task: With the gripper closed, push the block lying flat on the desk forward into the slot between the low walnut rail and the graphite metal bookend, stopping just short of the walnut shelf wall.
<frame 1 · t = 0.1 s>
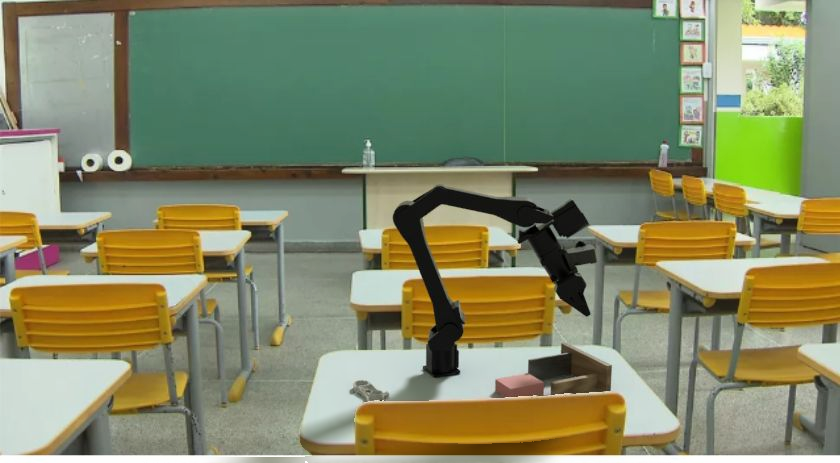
hand: (585, 309, 165), 15 cm above the table, tool tilted 35°, fingers open, 9 cm apart
bracket: (370, 402, 154), on the table
block: (519, 394, 157), on the table
shelf: (563, 384, 162), on the table
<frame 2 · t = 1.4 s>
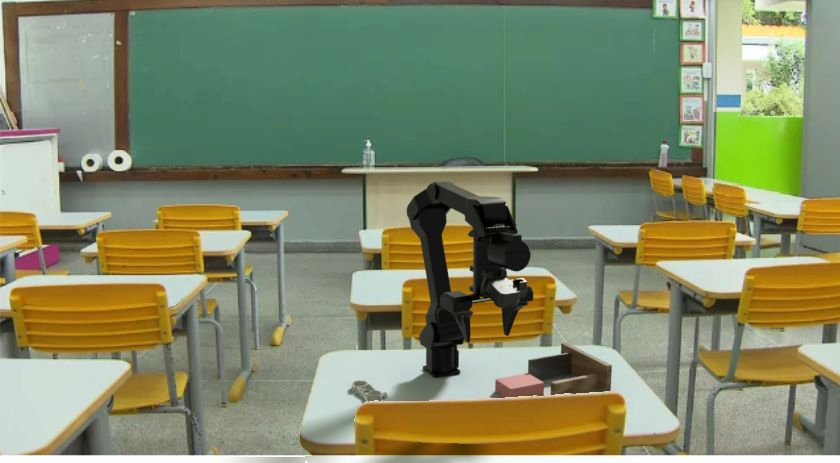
hand: (487, 338, 151), 13 cm above the table, tool pointing down, fingers open, 9 cm apart
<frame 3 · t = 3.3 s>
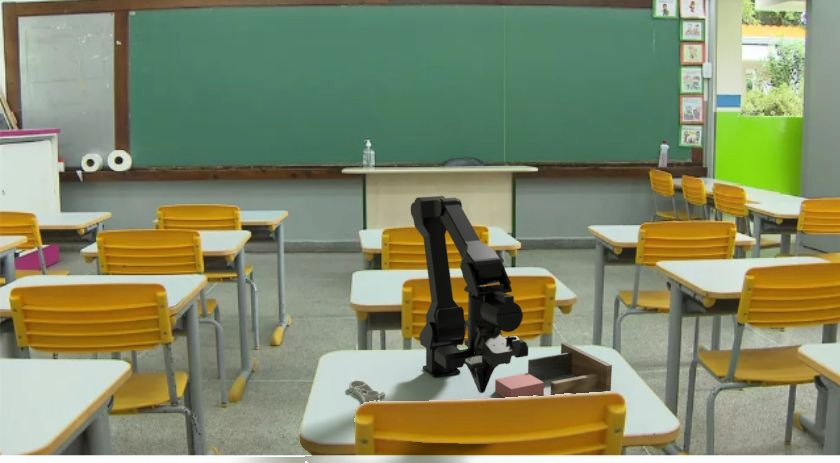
hand: (481, 392, 153), 2 cm above the table, tool pointing down, fingers closed
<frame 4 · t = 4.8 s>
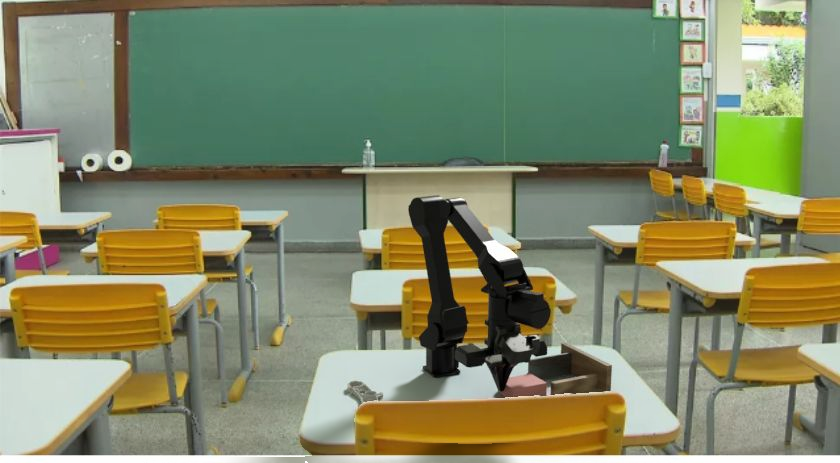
hand: (500, 390, 155), 1 cm above the table, tool pointing down, fingers closed
block: (522, 394, 157), on the table, touching gripper
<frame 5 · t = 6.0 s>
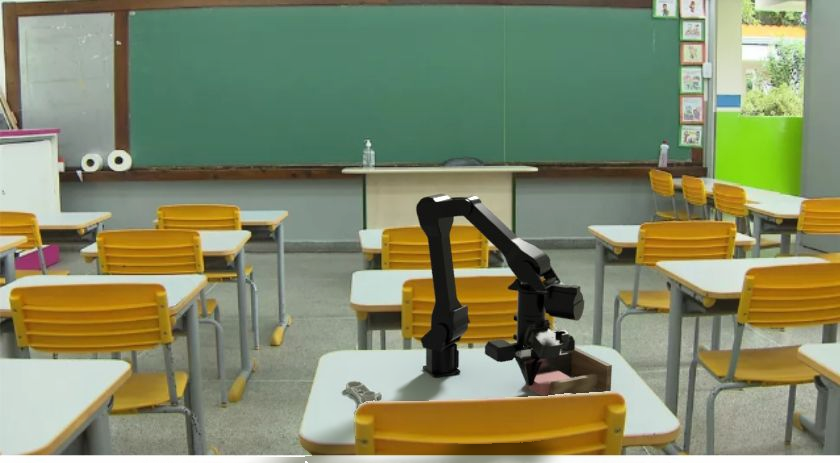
hand: (529, 385, 158), 1 cm above the table, tool pointing down, fingers closed
block: (549, 391, 160), on the table, touching gripper
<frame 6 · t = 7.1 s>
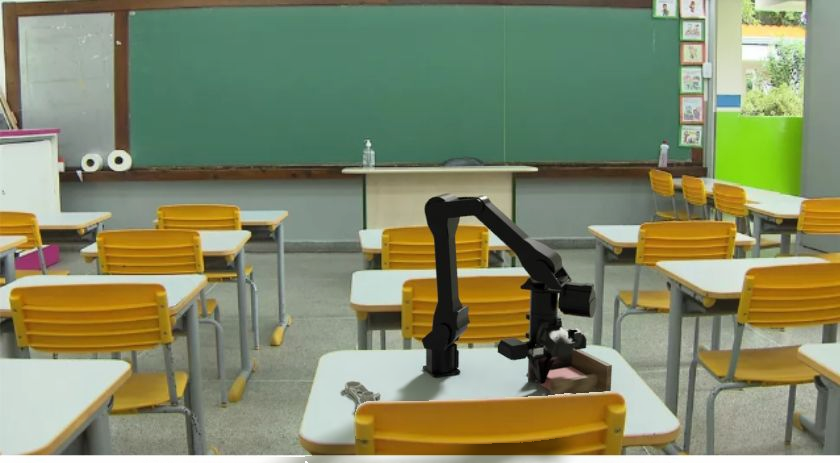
hand: (541, 383, 159), 1 cm above the table, tool pointing down, fingers closed
block: (562, 387, 161), on the table
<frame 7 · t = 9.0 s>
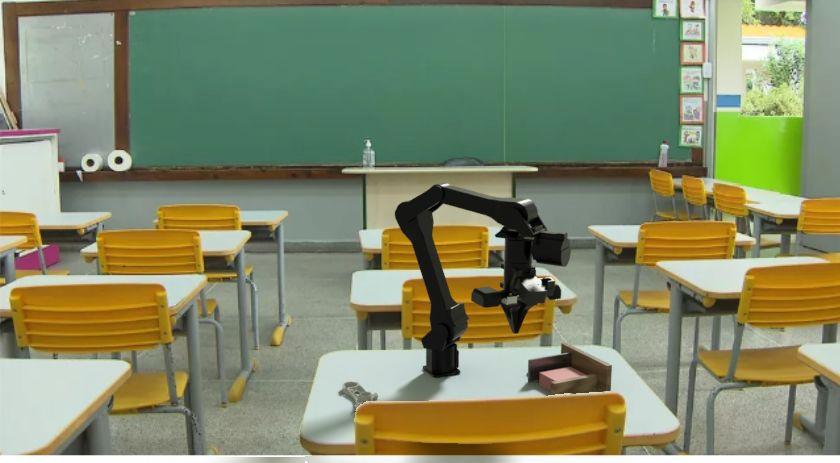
hand: (515, 333, 159), 12 cm above the table, tool pointing down, fingers closed
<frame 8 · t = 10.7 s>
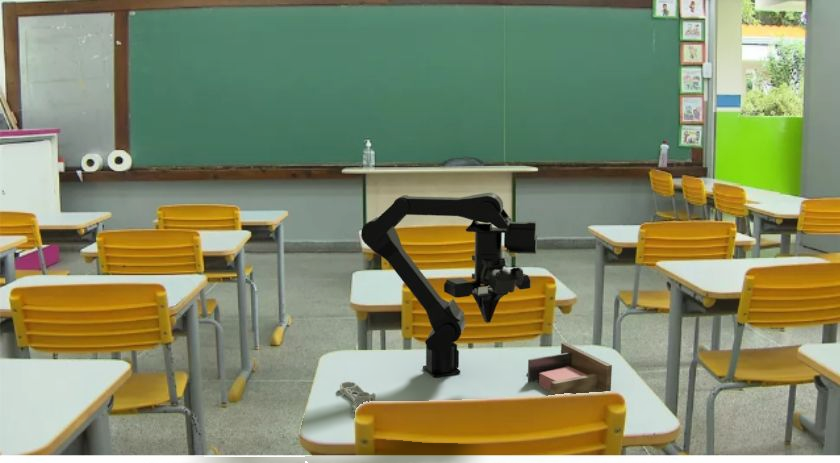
hand: (487, 322, 165), 12 cm above the table, tool pointing down, fingers closed
at the end: block 0.6 cm off-centre on the shelf, point 0.0 cm above the shelf's base; block tilted 0°; block moved 10.6 cm from its start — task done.
